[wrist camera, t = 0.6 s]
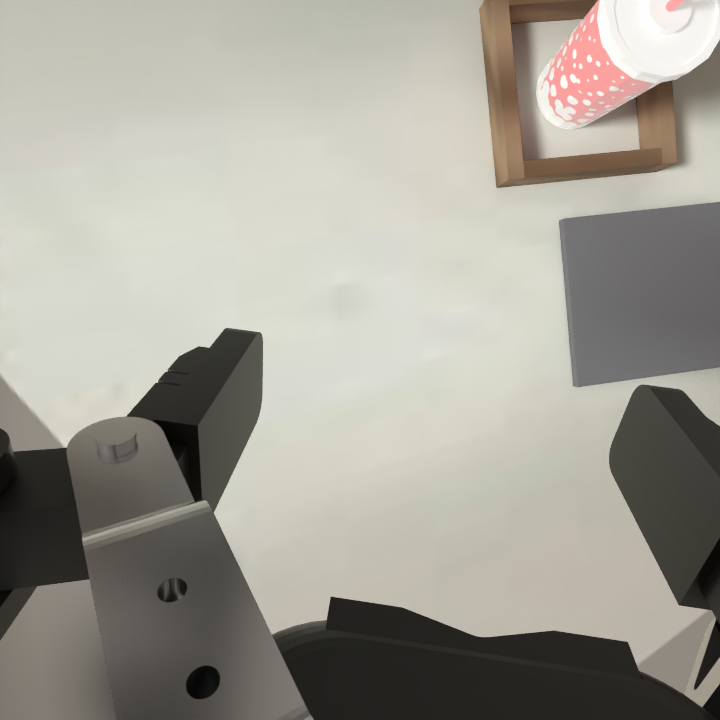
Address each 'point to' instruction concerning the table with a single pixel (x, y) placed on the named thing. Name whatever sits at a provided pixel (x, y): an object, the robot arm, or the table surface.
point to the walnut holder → (497, 12)
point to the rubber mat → (642, 292)
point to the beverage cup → (625, 55)
